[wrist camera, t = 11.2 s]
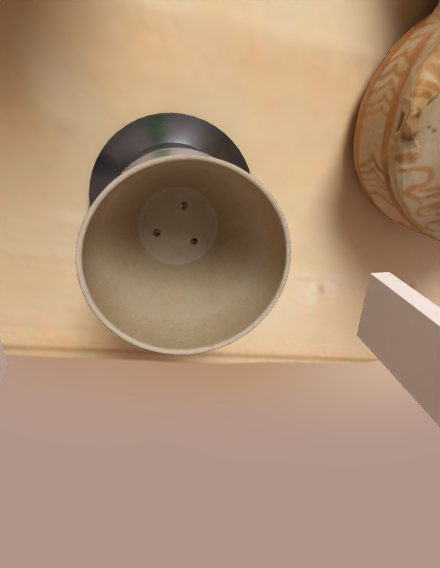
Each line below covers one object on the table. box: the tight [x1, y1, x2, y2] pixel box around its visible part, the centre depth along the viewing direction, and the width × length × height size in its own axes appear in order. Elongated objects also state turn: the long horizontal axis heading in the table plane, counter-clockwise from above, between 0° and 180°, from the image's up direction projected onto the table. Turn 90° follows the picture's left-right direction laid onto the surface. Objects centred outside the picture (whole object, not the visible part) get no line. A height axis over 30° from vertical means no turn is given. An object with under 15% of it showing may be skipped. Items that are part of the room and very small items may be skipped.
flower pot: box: [76, 154, 291, 355], centre depth 20 cm, size 10×10×7 cm
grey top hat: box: [89, 113, 250, 241], centre depth 27 cm, size 13×13×8 cm
